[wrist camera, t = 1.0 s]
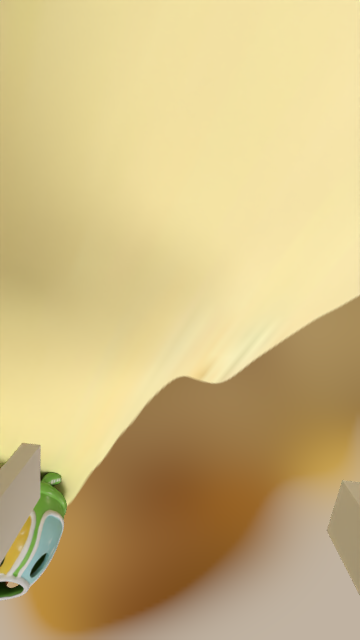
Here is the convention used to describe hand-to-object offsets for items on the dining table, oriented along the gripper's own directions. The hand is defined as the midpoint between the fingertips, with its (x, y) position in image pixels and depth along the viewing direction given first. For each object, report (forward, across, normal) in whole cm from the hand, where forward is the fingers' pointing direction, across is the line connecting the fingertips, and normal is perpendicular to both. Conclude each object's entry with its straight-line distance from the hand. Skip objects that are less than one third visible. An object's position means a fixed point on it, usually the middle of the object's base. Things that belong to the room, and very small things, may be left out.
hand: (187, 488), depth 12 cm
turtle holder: (+26, -22, -28) cm, 44 cm away
